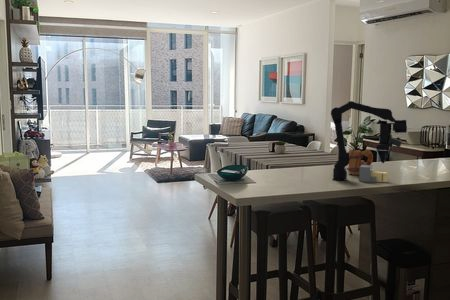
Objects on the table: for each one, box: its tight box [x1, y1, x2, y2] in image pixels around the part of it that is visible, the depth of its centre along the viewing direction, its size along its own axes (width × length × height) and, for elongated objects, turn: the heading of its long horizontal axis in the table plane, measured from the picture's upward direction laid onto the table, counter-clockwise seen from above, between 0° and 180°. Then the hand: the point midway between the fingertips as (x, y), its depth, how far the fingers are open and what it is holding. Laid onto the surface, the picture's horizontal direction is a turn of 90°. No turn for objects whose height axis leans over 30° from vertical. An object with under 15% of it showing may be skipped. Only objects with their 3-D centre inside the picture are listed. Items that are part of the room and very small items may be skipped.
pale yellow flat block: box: [371, 170, 388, 183], centre depth 237 cm, size 11×2×5 cm, turn 64°
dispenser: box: [358, 164, 377, 183], centre depth 239 cm, size 8×8×8 cm
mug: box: [346, 148, 374, 176], centre depth 257 cm, size 15×8×15 cm, turn 62°
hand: (384, 161), depth 235 cm, fingers open, 9 cm apart
